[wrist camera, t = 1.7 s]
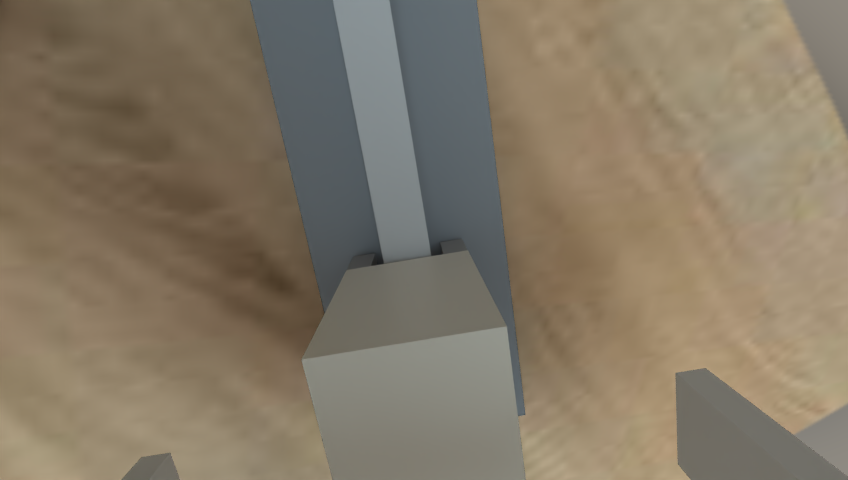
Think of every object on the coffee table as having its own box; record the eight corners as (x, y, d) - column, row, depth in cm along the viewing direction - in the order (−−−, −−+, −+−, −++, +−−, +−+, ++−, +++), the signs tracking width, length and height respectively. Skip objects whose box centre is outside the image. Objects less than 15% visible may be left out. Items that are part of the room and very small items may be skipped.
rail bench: (184, -318, 15) (-195, -1083, 6) (427, -362, 15) (454, -1213, 6) (358, 426, 23) (320, 628, 13) (519, 400, 22) (596, 585, 13)
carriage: (353, 256, 19) (301, 359, 10) (461, 238, 19) (507, 326, 10) (377, 372, 20) (351, 553, 11) (478, 356, 20) (531, 524, 11)
